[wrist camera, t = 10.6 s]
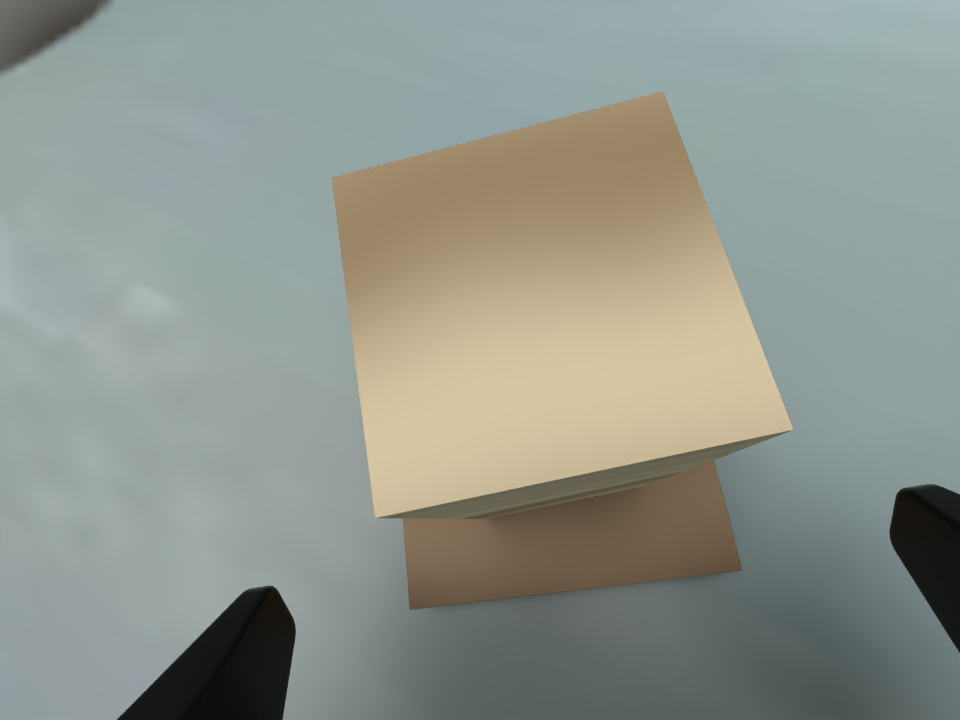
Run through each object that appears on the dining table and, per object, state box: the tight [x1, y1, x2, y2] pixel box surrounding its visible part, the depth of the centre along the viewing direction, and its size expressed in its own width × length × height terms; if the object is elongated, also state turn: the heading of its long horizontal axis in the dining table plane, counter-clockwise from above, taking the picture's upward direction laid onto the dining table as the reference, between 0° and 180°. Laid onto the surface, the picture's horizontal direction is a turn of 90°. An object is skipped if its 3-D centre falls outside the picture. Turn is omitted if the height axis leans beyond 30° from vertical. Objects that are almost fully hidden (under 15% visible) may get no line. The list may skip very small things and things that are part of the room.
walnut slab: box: [403, 460, 742, 610], centre depth 19 cm, size 10×10×3 cm
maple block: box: [332, 92, 793, 519], centre depth 12 cm, size 5×5×11 cm
